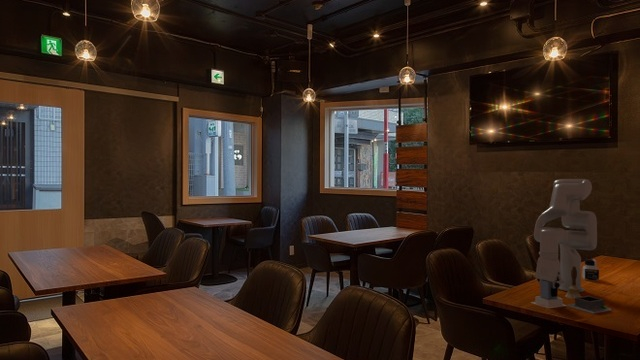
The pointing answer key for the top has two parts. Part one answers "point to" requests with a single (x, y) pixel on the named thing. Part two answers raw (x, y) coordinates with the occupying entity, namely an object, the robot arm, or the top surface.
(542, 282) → the plug
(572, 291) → the hand bell
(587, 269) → the medicine bottle
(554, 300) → the box
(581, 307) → the port
